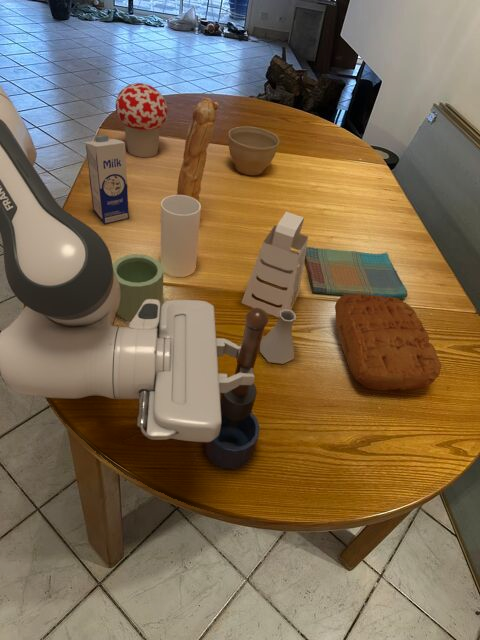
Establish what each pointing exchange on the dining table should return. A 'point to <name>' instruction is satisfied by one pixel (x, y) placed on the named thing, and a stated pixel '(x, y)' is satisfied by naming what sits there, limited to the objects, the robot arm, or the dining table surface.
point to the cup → (179, 234)
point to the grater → (278, 266)
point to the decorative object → (141, 117)
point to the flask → (279, 339)
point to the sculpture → (196, 148)
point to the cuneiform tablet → (385, 343)
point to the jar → (137, 283)
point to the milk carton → (108, 178)
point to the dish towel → (352, 273)
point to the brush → (243, 396)
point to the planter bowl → (252, 149)
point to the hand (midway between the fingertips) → (252, 365)
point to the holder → (234, 442)
